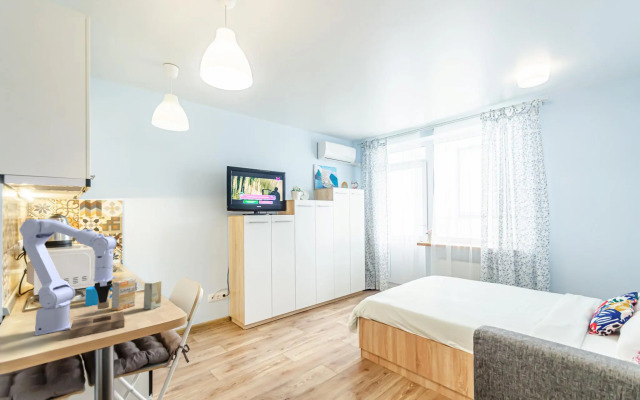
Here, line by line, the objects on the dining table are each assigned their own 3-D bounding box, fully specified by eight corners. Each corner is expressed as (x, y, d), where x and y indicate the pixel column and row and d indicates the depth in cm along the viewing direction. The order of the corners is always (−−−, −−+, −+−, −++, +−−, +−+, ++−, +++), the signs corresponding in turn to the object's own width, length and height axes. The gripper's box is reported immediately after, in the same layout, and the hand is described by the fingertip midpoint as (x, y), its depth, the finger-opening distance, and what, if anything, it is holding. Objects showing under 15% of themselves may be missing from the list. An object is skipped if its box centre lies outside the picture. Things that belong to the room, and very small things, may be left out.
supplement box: (118, 311, 128) (119, 282, 129) (111, 310, 130) (112, 281, 131) (135, 305, 136) (136, 278, 137) (128, 304, 138) (129, 278, 139)
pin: (97, 309, 107) (99, 288, 108) (97, 307, 110) (98, 287, 111) (109, 307, 110) (110, 287, 110) (108, 305, 112) (109, 285, 113)
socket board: (69, 338, 99) (70, 329, 99) (72, 328, 108) (73, 320, 109) (124, 327, 109) (124, 319, 109) (122, 318, 118) (123, 311, 118)
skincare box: (150, 310, 129) (151, 283, 130) (143, 309, 130) (143, 283, 131) (161, 305, 135) (162, 280, 136) (153, 305, 136) (154, 280, 137)
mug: (87, 307, 135) (88, 290, 136) (83, 304, 140) (83, 287, 141) (116, 300, 145) (117, 285, 145) (111, 298, 150) (111, 283, 150)
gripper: (116, 267, 108) (115, 303, 107) (115, 263, 119) (114, 295, 118) (93, 270, 103) (92, 307, 102) (94, 265, 115) (93, 298, 114)
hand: (102, 301), depth 110 cm, fingers closed on pin, 4 cm apart
